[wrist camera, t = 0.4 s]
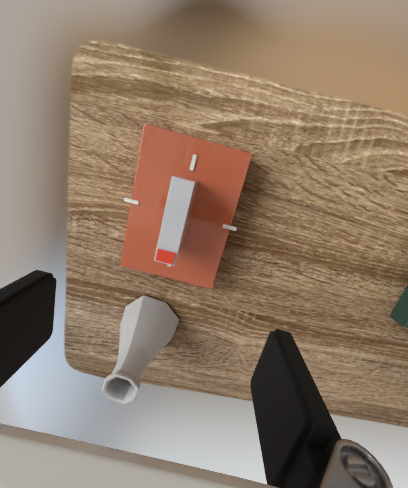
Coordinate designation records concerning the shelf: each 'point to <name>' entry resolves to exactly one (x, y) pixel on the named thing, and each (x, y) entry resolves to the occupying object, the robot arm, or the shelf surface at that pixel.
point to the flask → (139, 345)
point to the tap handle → (175, 219)
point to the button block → (401, 310)
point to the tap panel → (203, 211)
